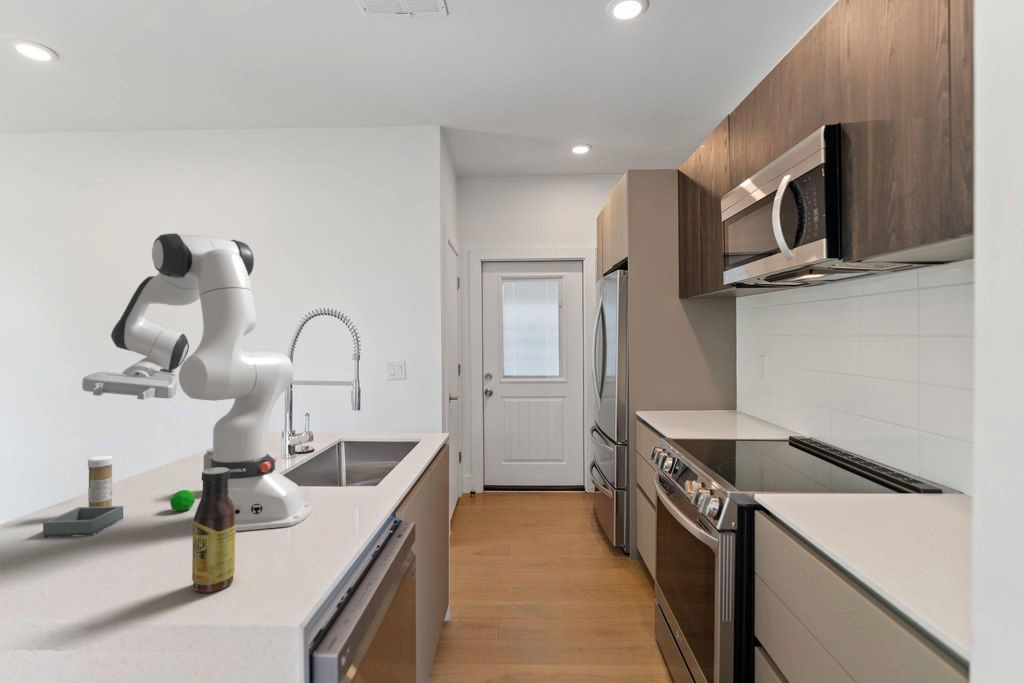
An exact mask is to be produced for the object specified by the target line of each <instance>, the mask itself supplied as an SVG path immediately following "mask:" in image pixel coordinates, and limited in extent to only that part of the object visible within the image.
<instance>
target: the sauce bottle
mask: <svg viewBox="0 0 1024 683" xmlns="http://www.w3.org/2000/svg"><path fill="white" fill-rule="evenodd" d="M229 474H230V472H229V469H228V468H225V467H216V468H210V469H206V470H204V469H203V471H202V472H201V481H202V493H201V497H200V501H199V502H198V503H199V504H198V506H197V508H196V511H195V513H194V516H193V519H192V524H193V525H192V564H191V565H192V570H191V571H192V572H191V574H192V576H191V579H192V580H191V581H192V583H193V585H192V586H193V587H192V588H193V590H194V591H195V592H198V593H201V594H208V593H213V592H217V591H220V590H223V589H225V588H227V587H229V586H230V585H232V583H233V581H234V575H235V570H236V569H235V568H236V567H235V566H236V565H235V564H236V562H235V561H236V531H235V529H236V522H235V506H234V504H233V502H232V500H231V499H230V498H229V496H228V493H229V491H228V479H229V476H230V475H229Z"/></svg>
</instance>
